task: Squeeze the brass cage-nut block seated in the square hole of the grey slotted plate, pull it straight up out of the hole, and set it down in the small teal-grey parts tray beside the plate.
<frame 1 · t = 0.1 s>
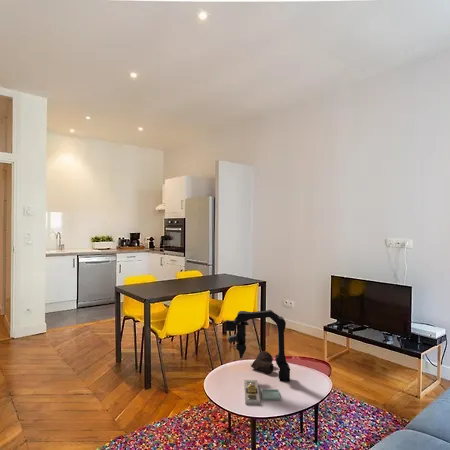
hand: (240, 355, 230), 15 cm above the table, fingers open, 9 cm apart
cage nut: (251, 395, 208), resting in grey slotted plate
pipe: (263, 368, 246), on the table
parts tray: (270, 395, 208), on the table
grey slotted plate: (251, 393, 210), on the table
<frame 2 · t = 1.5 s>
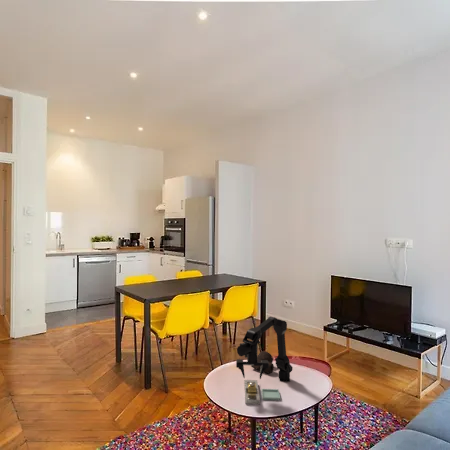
hand: (252, 378, 208), 10 cm above the table, fingers open, 9 cm apart
nothing on the table moved.
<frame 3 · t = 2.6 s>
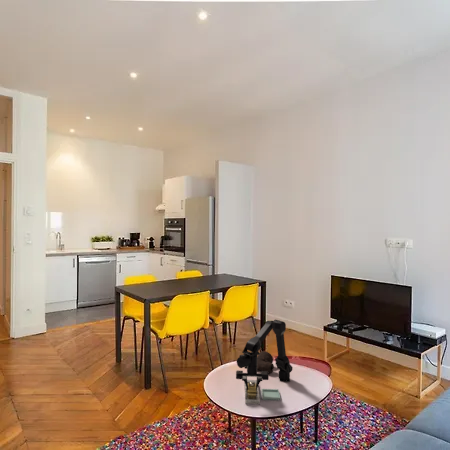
hand: (251, 389, 208), 3 cm above the table, fingers closed on cage nut, 4 cm apart
cage nut: (251, 395, 208), resting in grey slotted plate, touching gripper
everything else where it was.
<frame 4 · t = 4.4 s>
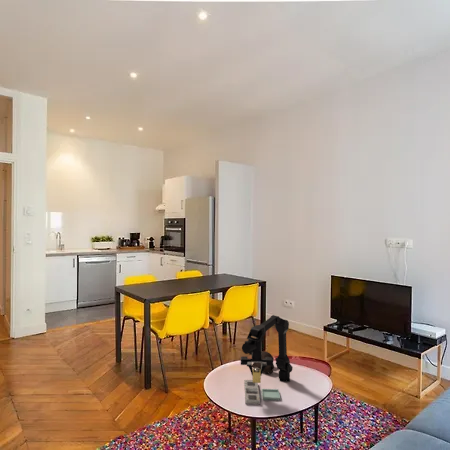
hand: (256, 375, 208), 12 cm above the table, fingers closed on cage nut, 4 cm apart
cage nut: (256, 380, 208), point 8 cm above the table, touching gripper
everything else where it was.
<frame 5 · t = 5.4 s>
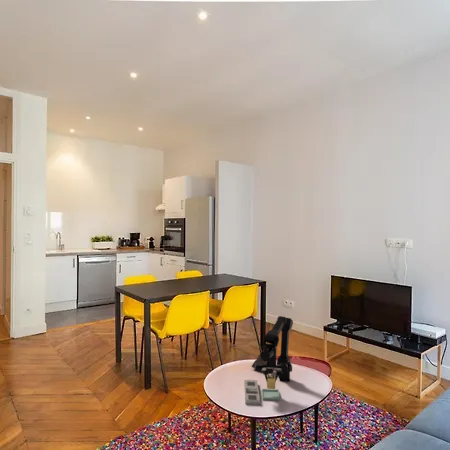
hand: (271, 381, 208), 8 cm above the table, fingers closed on cage nut, 4 cm apart
cage nut: (270, 387, 208), point 5 cm above the table, touching gripper
everything else where it was.
when the fingers open (5 cm above the table, at t = 6.1 s): cage nut drops 2 cm, resting on parts tray.
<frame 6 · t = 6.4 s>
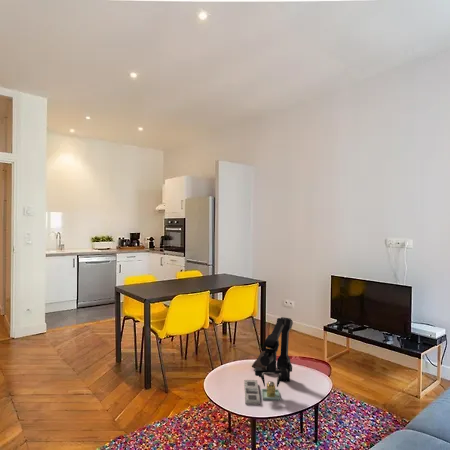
hand: (270, 386, 208), 5 cm above the table, fingers open, 7 cm apart
cage nut: (270, 395, 208), resting on parts tray
everything else where it was.
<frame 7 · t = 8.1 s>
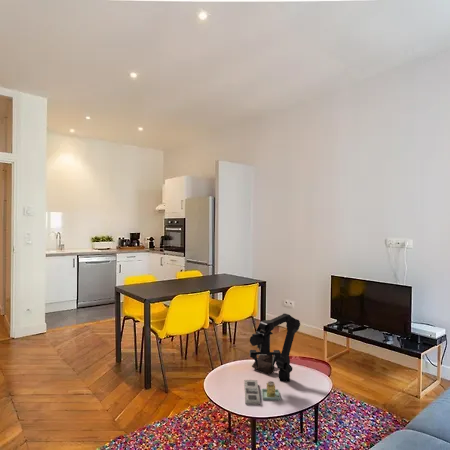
hand: (265, 367, 219), 12 cm above the table, fingers open, 9 cm apart
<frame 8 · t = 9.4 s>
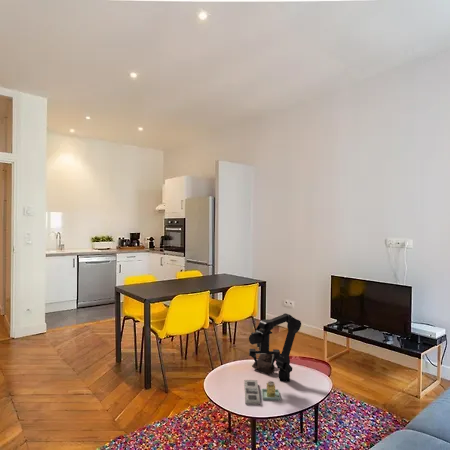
hand: (264, 366, 219), 12 cm above the table, fingers open, 9 cm apart
at the end: cage nut inside the target area on the parts tray (0.0 cm from its centre), point 0.5 cm above the parts tray's base; cage nut touching parts tray; the gripper is holding nothing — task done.
